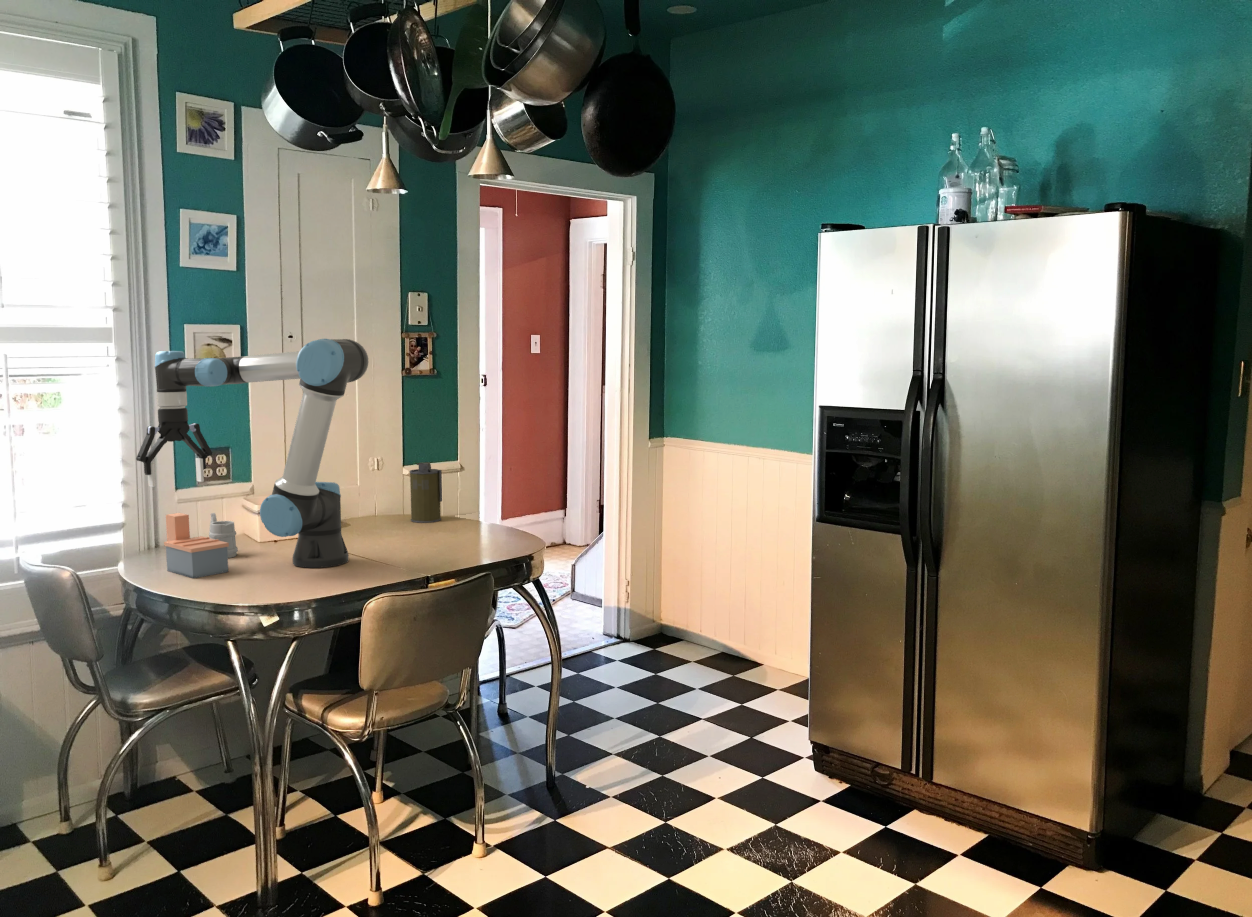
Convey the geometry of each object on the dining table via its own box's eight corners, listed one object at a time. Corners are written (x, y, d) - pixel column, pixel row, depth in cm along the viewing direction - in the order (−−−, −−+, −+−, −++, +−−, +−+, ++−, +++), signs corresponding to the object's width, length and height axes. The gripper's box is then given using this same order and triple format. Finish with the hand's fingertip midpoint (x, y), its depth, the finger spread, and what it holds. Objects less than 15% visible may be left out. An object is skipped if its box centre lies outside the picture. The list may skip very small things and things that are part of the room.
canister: (406, 522, 357) (404, 464, 354) (417, 517, 367) (415, 460, 364) (436, 523, 355) (435, 465, 352) (446, 518, 365) (445, 461, 363)
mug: (217, 560, 297) (215, 518, 295) (198, 554, 305) (196, 513, 303) (242, 556, 302) (240, 515, 301) (224, 550, 310) (222, 510, 309)
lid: (228, 548, 281) (227, 519, 280) (191, 554, 273) (189, 524, 272) (192, 539, 294) (191, 511, 293) (155, 544, 286) (153, 516, 285)
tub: (228, 571, 282) (227, 546, 281) (193, 578, 274) (191, 552, 273) (202, 564, 291) (200, 539, 290) (167, 570, 283) (165, 545, 282)
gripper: (209, 404, 297) (213, 478, 300) (120, 409, 278) (124, 487, 281) (222, 405, 292) (226, 480, 295) (132, 410, 274) (137, 490, 276)
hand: (176, 484), depth 288 cm, fingers open, 13 cm apart
